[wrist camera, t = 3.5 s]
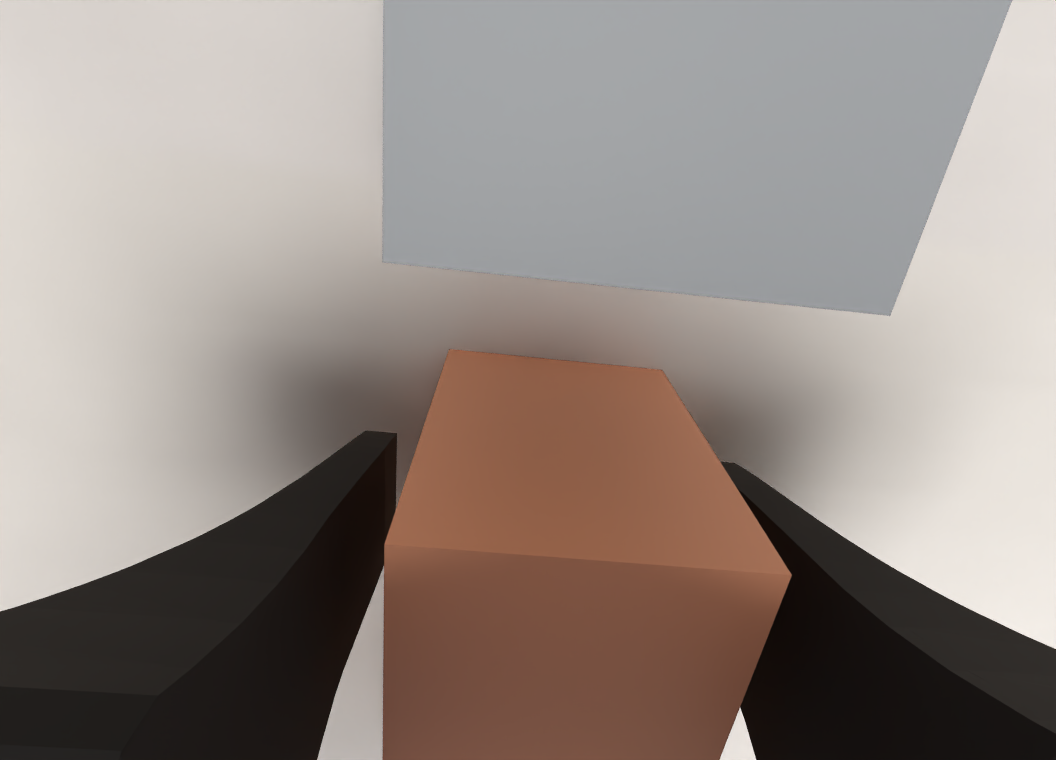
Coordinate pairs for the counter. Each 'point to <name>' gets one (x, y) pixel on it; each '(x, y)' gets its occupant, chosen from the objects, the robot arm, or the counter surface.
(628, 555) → the terracotta block
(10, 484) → the counter surface
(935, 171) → the slate block
